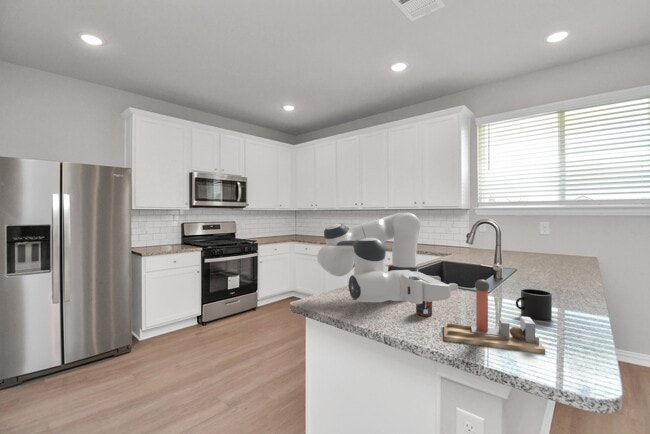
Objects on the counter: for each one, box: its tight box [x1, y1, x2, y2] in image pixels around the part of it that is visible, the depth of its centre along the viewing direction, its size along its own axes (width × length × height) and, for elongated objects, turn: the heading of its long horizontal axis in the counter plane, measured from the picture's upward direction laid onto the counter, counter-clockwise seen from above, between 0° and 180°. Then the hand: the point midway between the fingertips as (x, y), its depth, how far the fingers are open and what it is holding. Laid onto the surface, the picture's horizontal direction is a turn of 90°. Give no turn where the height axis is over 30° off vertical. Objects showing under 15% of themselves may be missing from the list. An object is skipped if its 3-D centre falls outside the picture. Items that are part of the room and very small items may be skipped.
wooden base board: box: [443, 322, 546, 355], centre depth 94 cm, size 26×12×2 cm, turn 69°
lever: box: [470, 279, 510, 340], centre depth 94 cm, size 10×5×17 cm, turn 69°
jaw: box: [520, 315, 540, 345], centre depth 91 cm, size 3×6×6 cm, turn 159°
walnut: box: [509, 325, 523, 339], centre depth 92 cm, size 3×3×3 cm
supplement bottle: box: [415, 301, 433, 317], centre depth 117 cm, size 6×6×11 cm
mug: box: [515, 288, 553, 321], centre depth 114 cm, size 9×12×9 cm
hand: (447, 282), depth 93 cm, fingers open, 8 cm apart
